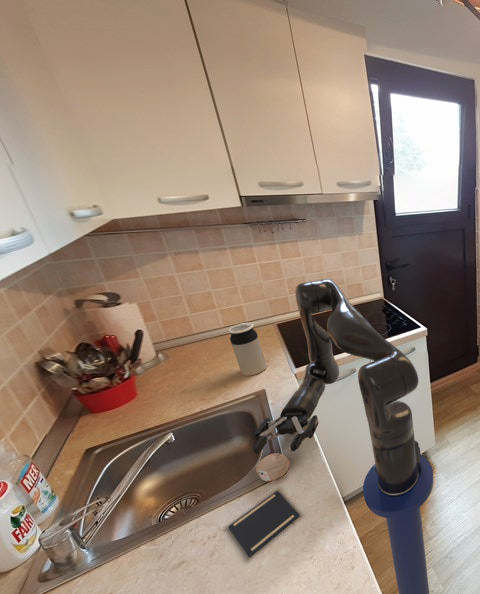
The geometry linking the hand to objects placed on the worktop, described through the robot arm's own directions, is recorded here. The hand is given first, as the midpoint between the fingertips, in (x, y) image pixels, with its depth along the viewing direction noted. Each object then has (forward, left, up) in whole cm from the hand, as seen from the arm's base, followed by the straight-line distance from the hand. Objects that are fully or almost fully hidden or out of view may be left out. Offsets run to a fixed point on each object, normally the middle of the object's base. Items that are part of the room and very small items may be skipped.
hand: (274, 450), depth 81 cm
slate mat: (+9, +11, -6) cm, 15 cm away
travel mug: (-15, -52, -6) cm, 54 cm away
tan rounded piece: (+2, +1, -6) cm, 7 cm away
